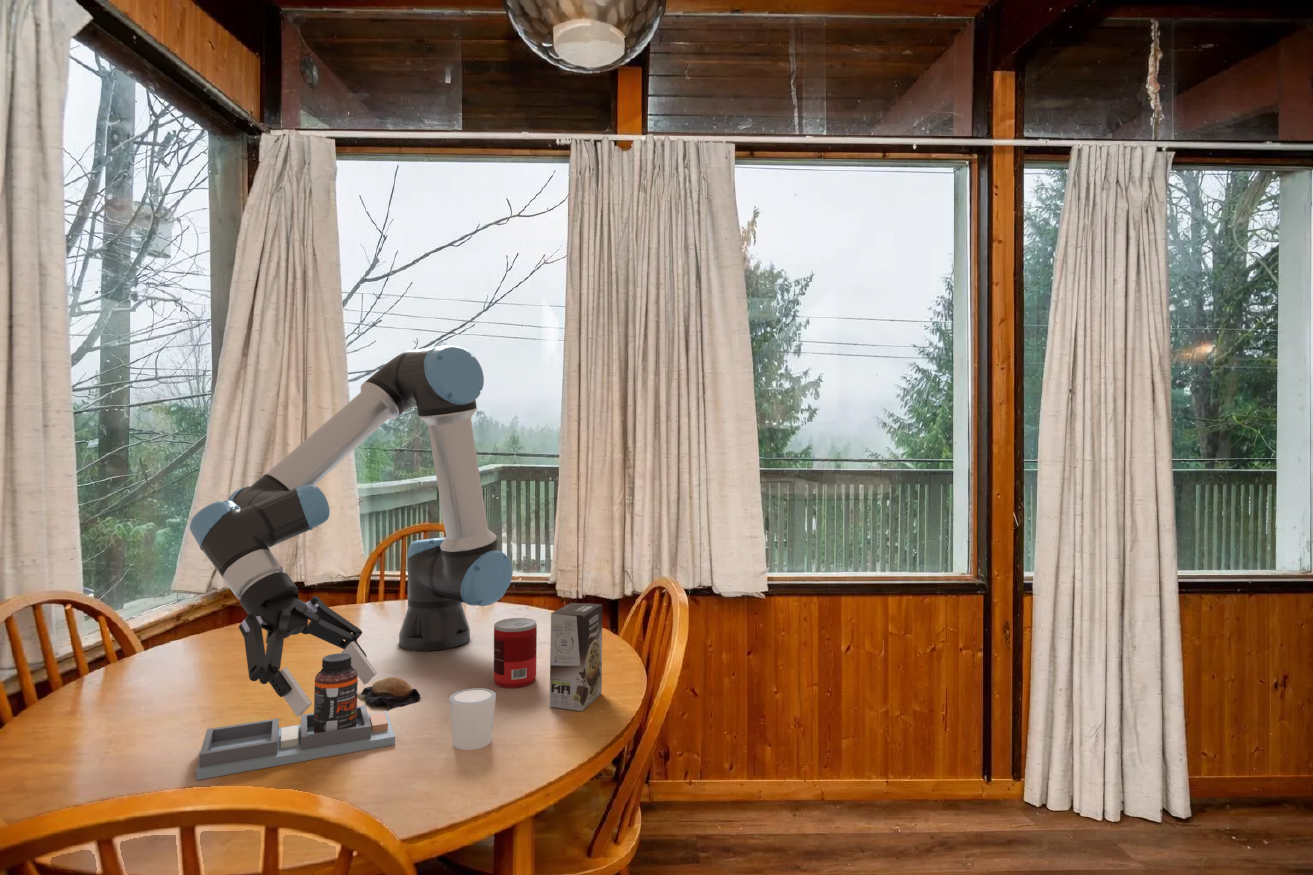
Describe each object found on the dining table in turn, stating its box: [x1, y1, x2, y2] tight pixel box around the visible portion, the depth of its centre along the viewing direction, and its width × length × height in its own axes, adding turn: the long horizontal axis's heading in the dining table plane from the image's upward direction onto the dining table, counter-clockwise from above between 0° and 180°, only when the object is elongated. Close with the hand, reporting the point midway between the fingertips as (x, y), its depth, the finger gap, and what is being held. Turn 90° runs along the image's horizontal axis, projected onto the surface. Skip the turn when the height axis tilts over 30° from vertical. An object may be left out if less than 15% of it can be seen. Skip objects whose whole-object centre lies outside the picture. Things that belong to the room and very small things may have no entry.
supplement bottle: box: [313, 652, 359, 733], centre depth 107 cm, size 6×6×11 cm
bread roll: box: [357, 676, 422, 711], centre depth 124 cm, size 11×8×4 cm
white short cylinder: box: [448, 687, 497, 751], centre depth 106 cm, size 7×7×7 cm
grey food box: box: [549, 602, 603, 712], centre depth 124 cm, size 9×6×16 cm
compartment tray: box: [195, 704, 396, 781], centre depth 104 cm, size 25×11×3 cm, turn 117°
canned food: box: [493, 617, 538, 689], centre depth 133 cm, size 8×8×11 cm
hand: (340, 693), depth 106 cm, fingers open, 13 cm apart
